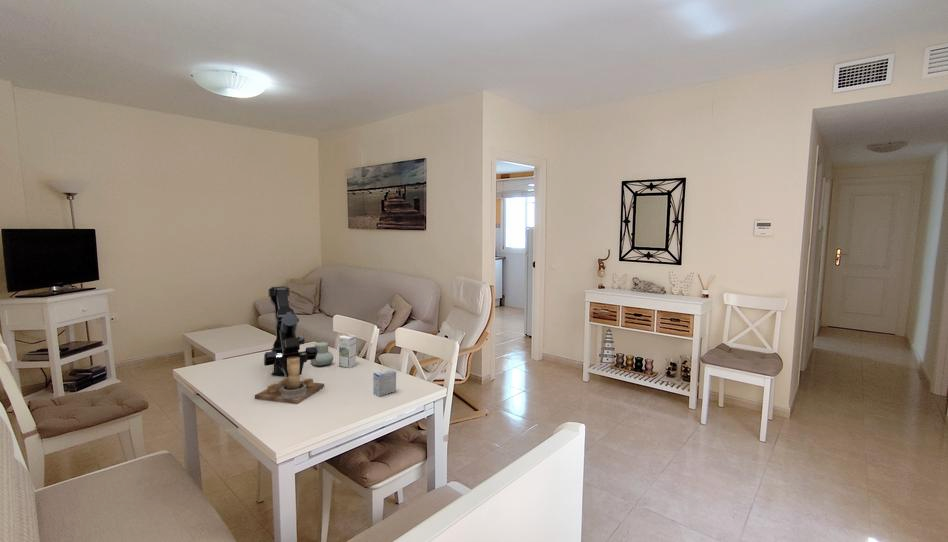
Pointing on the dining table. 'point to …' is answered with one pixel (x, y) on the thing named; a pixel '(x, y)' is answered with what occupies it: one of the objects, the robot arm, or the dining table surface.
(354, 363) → the syrup box
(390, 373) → the medicine box
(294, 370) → the stool leg
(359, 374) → the dining table surface
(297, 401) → the stool seat
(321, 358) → the air freshener
